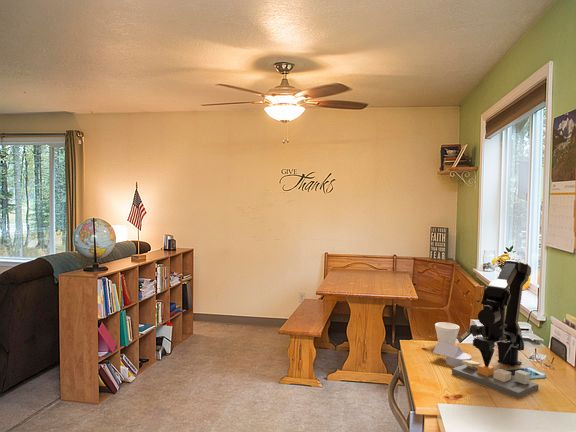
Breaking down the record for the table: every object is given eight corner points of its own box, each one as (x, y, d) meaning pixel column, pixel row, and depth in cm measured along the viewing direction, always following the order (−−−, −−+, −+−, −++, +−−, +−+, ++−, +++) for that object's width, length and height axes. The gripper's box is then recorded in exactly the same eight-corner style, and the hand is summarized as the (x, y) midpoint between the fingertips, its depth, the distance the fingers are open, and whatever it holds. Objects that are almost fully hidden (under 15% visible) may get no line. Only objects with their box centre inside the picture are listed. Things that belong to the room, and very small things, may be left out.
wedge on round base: (432, 361, 178) (466, 370, 170) (432, 344, 178) (466, 352, 169) (441, 355, 185) (474, 363, 176) (442, 339, 185) (475, 346, 176)
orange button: (483, 370, 164) (483, 363, 164) (494, 374, 161) (494, 367, 161) (477, 372, 162) (477, 365, 162) (487, 376, 159) (488, 369, 159)
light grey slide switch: (519, 379, 156) (519, 369, 156) (529, 382, 153) (529, 373, 153) (514, 380, 154) (514, 371, 154) (524, 384, 152) (525, 374, 151)
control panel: (472, 367, 173) (473, 359, 173) (538, 389, 153) (538, 381, 153) (451, 374, 165) (452, 366, 165) (518, 398, 146) (518, 390, 146)
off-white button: (499, 375, 160) (499, 368, 159) (510, 379, 156) (511, 372, 156) (493, 378, 157) (493, 370, 157) (504, 382, 154) (504, 374, 154)
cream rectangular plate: (471, 363, 169) (471, 360, 169) (481, 366, 166) (481, 363, 166) (461, 363, 166) (462, 360, 166) (471, 366, 163) (472, 363, 163)
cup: (455, 352, 189) (456, 330, 189) (431, 347, 194) (432, 326, 194) (460, 346, 198) (461, 324, 197) (437, 341, 203) (438, 321, 203)
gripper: (489, 312, 176) (487, 352, 176) (460, 318, 165) (458, 361, 166) (517, 319, 167) (515, 361, 167) (489, 326, 156) (487, 371, 157)
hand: (493, 363), depth 164 cm, fingers open, 9 cm apart
